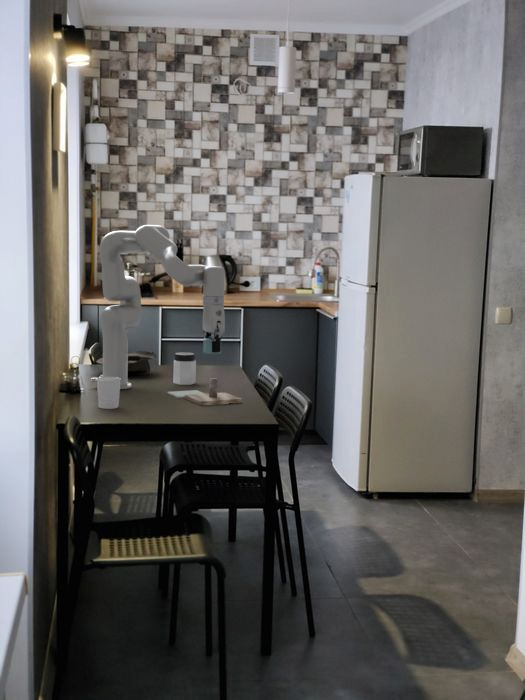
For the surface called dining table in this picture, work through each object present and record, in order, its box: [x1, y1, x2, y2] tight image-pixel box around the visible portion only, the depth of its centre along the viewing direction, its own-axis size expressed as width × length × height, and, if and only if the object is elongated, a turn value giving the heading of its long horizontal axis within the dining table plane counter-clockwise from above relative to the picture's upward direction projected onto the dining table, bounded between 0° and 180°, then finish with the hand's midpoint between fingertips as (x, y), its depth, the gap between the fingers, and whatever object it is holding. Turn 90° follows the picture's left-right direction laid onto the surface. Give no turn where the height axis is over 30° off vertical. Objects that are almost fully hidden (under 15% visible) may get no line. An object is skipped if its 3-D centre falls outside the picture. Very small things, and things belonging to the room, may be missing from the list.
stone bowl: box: [96, 350, 158, 376], centre depth 389 cm, size 25×25×9 cm
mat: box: [167, 389, 205, 399], centre depth 344 cm, size 12×10×1 cm
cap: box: [202, 336, 222, 355], centre depth 332 cm, size 6×6×6 cm
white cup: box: [96, 376, 121, 410], centre depth 316 cm, size 8×8×10 cm
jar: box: [172, 351, 197, 386], centre depth 369 cm, size 9×8×12 cm
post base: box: [184, 377, 243, 407], centre depth 334 cm, size 16×14×8 cm
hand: (212, 350), depth 332 cm, fingers closed on cap, 6 cm apart
